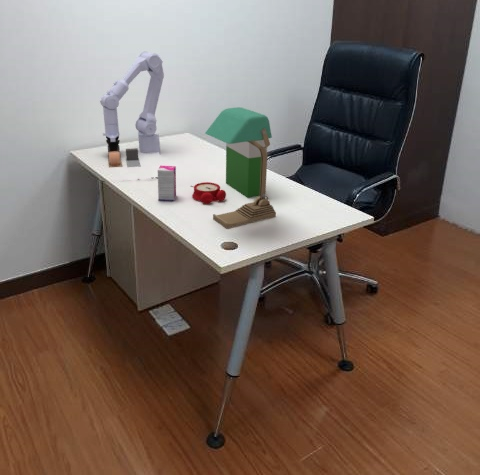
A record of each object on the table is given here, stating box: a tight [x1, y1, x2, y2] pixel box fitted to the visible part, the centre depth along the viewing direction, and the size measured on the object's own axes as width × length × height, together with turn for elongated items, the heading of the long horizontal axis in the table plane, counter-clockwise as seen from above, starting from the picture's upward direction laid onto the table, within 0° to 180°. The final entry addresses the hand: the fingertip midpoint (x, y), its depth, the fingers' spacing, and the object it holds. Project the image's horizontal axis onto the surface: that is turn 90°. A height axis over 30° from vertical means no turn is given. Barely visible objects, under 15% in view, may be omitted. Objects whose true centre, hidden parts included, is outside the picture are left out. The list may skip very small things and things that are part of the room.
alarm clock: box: [190, 181, 227, 205], centre depth 177 cm, size 11×6×15 cm
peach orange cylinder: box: [107, 144, 123, 168], centre depth 211 cm, size 6×18×6 cm, turn 15°
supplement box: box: [157, 165, 177, 202], centre depth 175 cm, size 6×6×12 cm
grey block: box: [125, 148, 141, 168], centre depth 210 cm, size 6×12×6 cm, turn 15°
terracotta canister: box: [109, 151, 121, 166], centre depth 207 cm, size 4×4×5 cm
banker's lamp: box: [204, 107, 277, 229], centre depth 155 cm, size 16×21×35 cm
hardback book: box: [225, 139, 268, 199], centre depth 183 cm, size 18×7×24 cm, turn 28°
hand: (114, 153), depth 218 cm, fingers open, 5 cm apart
